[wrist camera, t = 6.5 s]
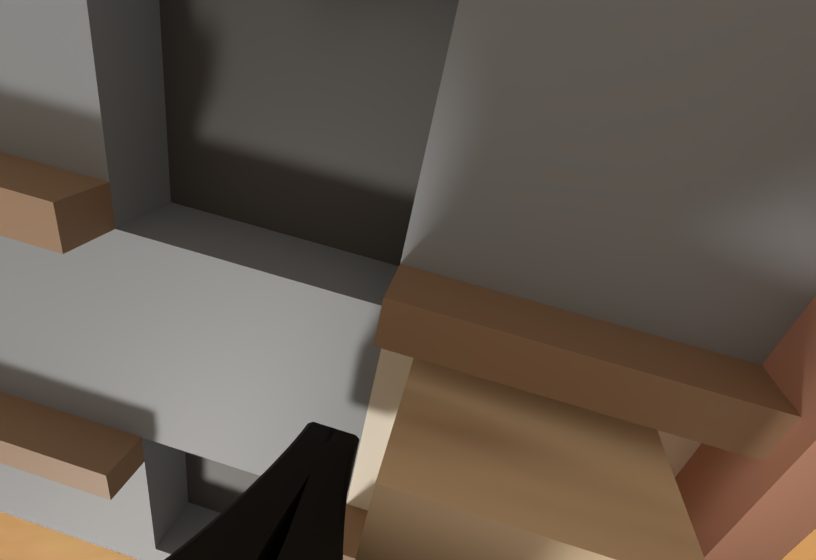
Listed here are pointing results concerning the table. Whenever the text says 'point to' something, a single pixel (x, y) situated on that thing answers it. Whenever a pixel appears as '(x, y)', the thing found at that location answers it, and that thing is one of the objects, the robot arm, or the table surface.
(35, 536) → the table surface
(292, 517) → the robot arm
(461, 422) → the maple block
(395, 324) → the board
